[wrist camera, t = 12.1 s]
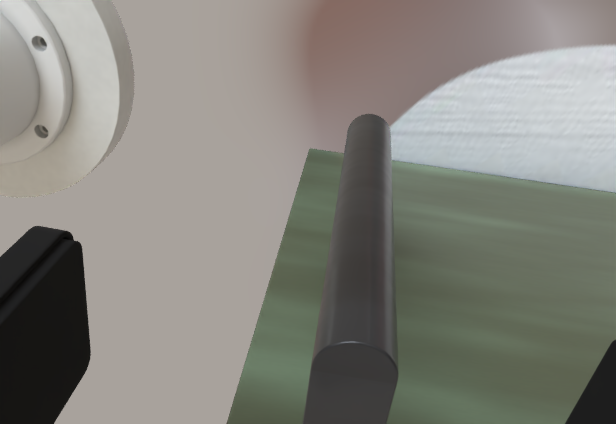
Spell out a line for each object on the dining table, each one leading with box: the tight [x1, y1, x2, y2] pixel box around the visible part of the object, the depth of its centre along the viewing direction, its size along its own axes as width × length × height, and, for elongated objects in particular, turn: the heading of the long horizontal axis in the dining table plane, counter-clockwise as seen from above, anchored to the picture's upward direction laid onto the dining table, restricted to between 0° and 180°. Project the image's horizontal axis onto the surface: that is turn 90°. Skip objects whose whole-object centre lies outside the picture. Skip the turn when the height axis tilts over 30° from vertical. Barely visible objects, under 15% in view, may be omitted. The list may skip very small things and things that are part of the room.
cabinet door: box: [227, 114, 616, 424], centre depth 21 cm, size 8×26×24 cm, turn 84°
